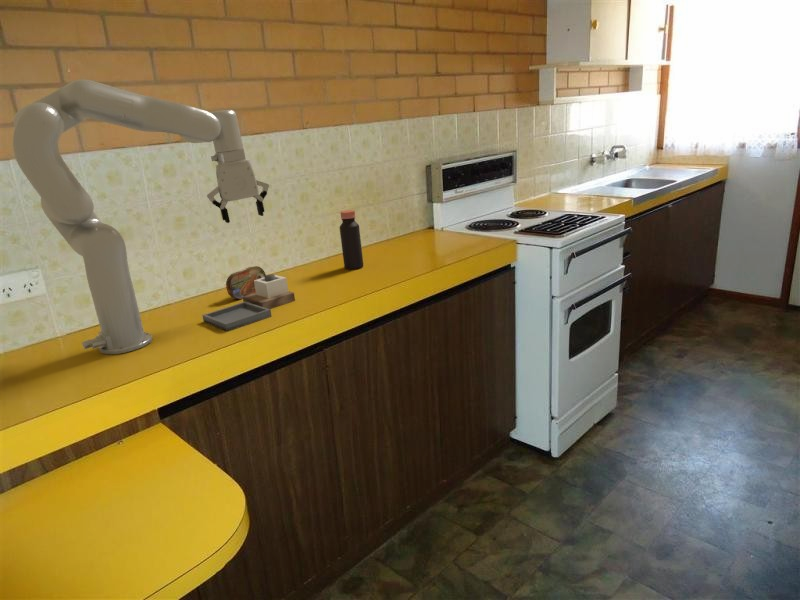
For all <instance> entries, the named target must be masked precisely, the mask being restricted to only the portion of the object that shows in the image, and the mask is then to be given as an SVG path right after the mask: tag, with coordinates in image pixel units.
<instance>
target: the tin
mask: <svg viewBox="0 0 800 600" xmlns="http://www.w3.org/2000/svg"><path fill="white" fill-rule="evenodd" d="M266 275H267V274H266V272H265V270H264V269H263V268H262V267H260V266H257V265H255V266H249V267H246V268H244V269H241V270H239V271H235V272H232V273H231V274H229V275H228V277H227V279H226V283H225V286H226V287H225V288H226V290H227V291H226V292H227V294H228V295H229V297H231V298H232V299H238V300H243V297H244V296H247V295H250V294H253V293H256V290H255V284H254V280H257V279H260V278H264V276H266Z"/></svg>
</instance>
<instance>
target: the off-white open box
mask: <svg viewBox="0 0 800 600" xmlns="http://www.w3.org/2000/svg"><path fill="white" fill-rule="evenodd" d="M274 275H275V280H272V281H269V282H266V281H265V277H264V278H260V279H257V280H254V284H255V290H256V295H259V296H263V297H266V298H271V297H274V296H278V295H281V294H284V293H287V292H289V286H288V281H287V280H288V279H287V277H286V276H282V275H281V276H280V275H277V274H274Z"/></svg>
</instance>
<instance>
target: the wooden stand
mask: <svg viewBox="0 0 800 600" xmlns="http://www.w3.org/2000/svg"><path fill="white" fill-rule="evenodd" d="M275 275H276V274H273V273H272V274H271V273H269V274H266V276H264V277H265V281H266V282H269V281H272V280H275ZM288 291H289V290H288ZM295 298H296V297H295V292H294V291H291V290H290V291H289V292H287V293H284V294H281V295H278V296H274V297H271V298H266V297H263V296H259V295H256V293H253V294H250V295H247V296H244V297H243V299H242V303H243V302H248V303H252V304H255V305H258V306H261V307H264V308H267V309H270V310H272V309H274V308H276V307H279V306H283V305H286V304H289V303H291V302H292V303H293V302H294V301H296V299H295Z"/></svg>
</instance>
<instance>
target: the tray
mask: <svg viewBox="0 0 800 600" xmlns="http://www.w3.org/2000/svg"><path fill="white" fill-rule="evenodd" d="M271 310H272V309H267V308H264V307H261V306H258V305H255V304H252V303H248V302H243V301H242V302H240V303H237V304H234V305H231V306H230V305H229V306H227V307H224V308H220V309H217V310H214V311H211V312H208V313H205V314H202V316H201V317H202V320H203V323H205V324H208V325H209V326H212V327H216V328H217V329H220V330H221V331H222V330H223V331H225V332H230V331H233V330H235V329H239V328H241V327H245V326H248V325H250V324H254V323H256V322H259V321H262V320H266V319H267V318H271V317H272V312H271Z"/></svg>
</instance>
